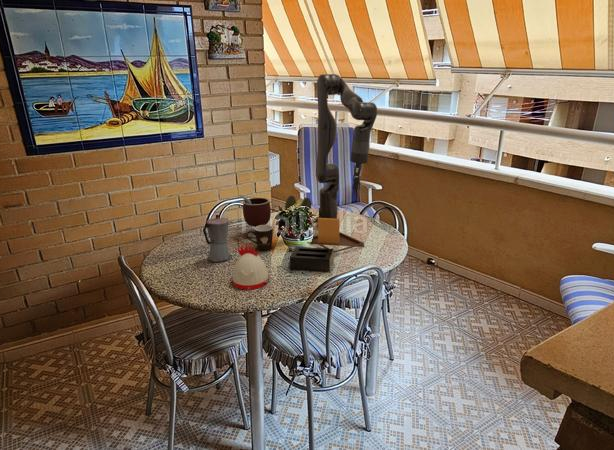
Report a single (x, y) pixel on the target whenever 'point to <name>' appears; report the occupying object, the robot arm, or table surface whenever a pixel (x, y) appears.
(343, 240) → the tray
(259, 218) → the mate gourd
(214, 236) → the moka pot
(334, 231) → the toast
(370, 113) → the robot arm
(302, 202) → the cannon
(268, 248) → the coffee mug
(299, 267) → the low dark brown box
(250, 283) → the kitchen timer
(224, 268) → the table surface
